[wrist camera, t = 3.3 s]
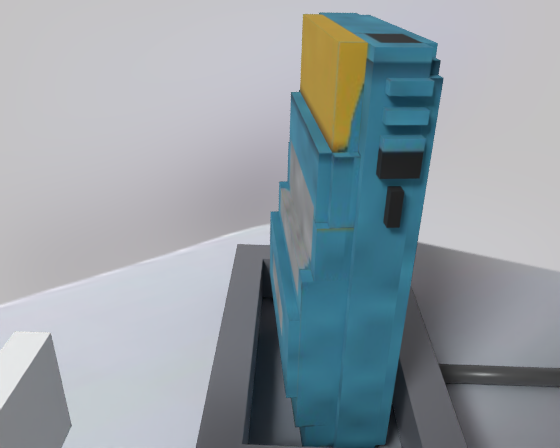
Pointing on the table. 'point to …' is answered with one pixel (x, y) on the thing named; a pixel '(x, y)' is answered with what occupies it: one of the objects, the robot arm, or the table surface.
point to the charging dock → (408, 385)
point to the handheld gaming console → (351, 221)
